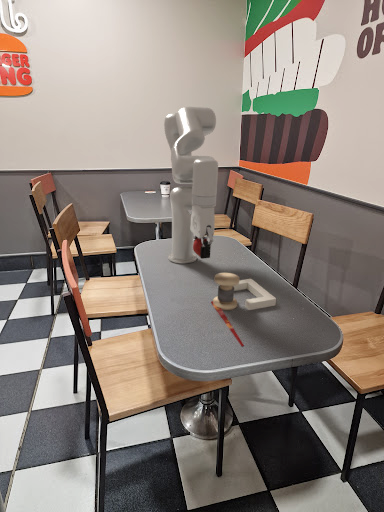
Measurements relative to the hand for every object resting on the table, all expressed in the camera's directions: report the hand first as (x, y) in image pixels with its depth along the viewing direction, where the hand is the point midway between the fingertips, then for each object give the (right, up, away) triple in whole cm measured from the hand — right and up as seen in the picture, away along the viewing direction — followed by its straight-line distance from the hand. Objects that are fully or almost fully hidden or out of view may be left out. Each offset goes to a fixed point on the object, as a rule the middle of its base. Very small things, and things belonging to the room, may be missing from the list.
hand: (201, 253), depth 105 cm
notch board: (+17, -15, +5) cm, 23 cm away
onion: (0, -1, 0) cm, 1 cm away
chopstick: (+7, -21, -10) cm, 24 cm away
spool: (+8, -17, 0) cm, 18 cm away
